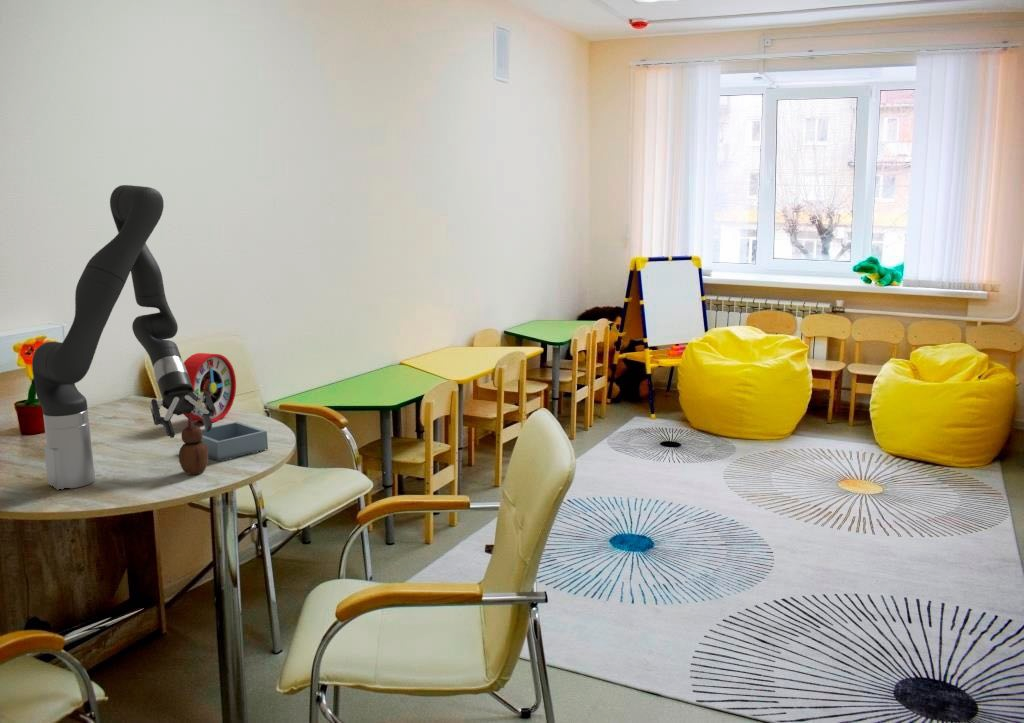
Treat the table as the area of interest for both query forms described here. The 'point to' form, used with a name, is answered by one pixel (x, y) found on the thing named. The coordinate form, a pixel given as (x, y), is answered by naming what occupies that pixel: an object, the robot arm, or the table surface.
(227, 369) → the toy clock
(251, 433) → the box
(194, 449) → the wooden figurine
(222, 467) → the table surface
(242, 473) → the table surface
